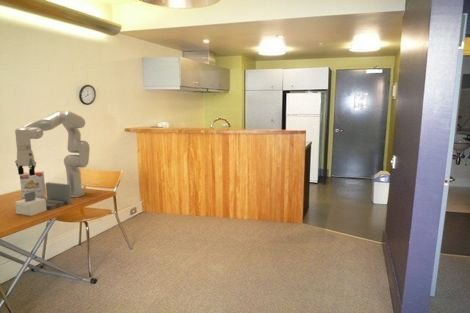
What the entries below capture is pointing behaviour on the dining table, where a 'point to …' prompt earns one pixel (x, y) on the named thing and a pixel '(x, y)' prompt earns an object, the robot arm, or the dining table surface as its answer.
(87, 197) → the dining table surface
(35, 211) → the white rectangular box
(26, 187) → the cracker box
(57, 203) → the grey piece
